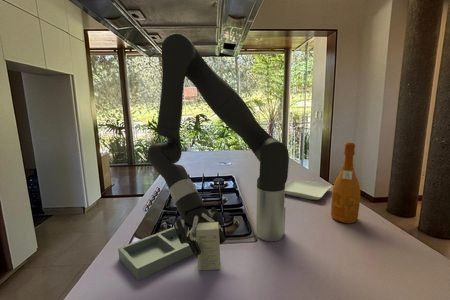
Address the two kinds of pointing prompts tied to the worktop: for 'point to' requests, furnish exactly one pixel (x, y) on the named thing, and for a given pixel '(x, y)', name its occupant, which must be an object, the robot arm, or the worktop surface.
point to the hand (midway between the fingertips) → (211, 248)
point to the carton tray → (154, 253)
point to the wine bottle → (346, 190)
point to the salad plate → (306, 189)
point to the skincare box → (208, 245)
